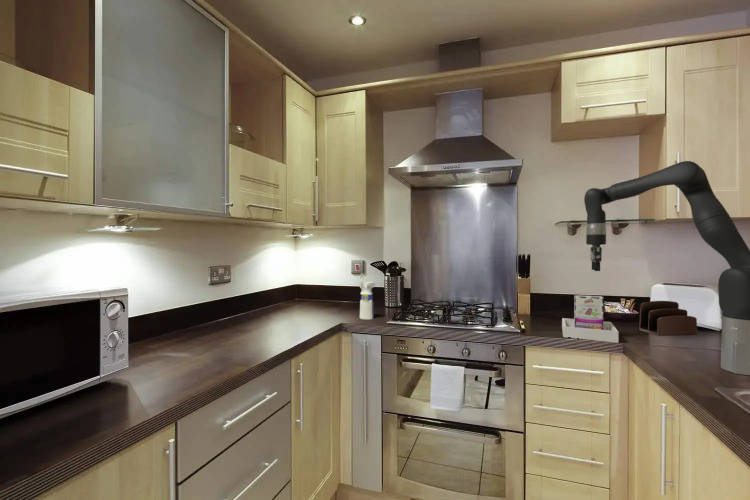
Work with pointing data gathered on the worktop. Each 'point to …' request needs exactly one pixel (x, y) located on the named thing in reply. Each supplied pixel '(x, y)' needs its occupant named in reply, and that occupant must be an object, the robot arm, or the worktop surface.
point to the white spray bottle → (366, 299)
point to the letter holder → (666, 319)
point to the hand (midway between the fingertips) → (595, 270)
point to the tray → (590, 331)
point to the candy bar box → (588, 312)
